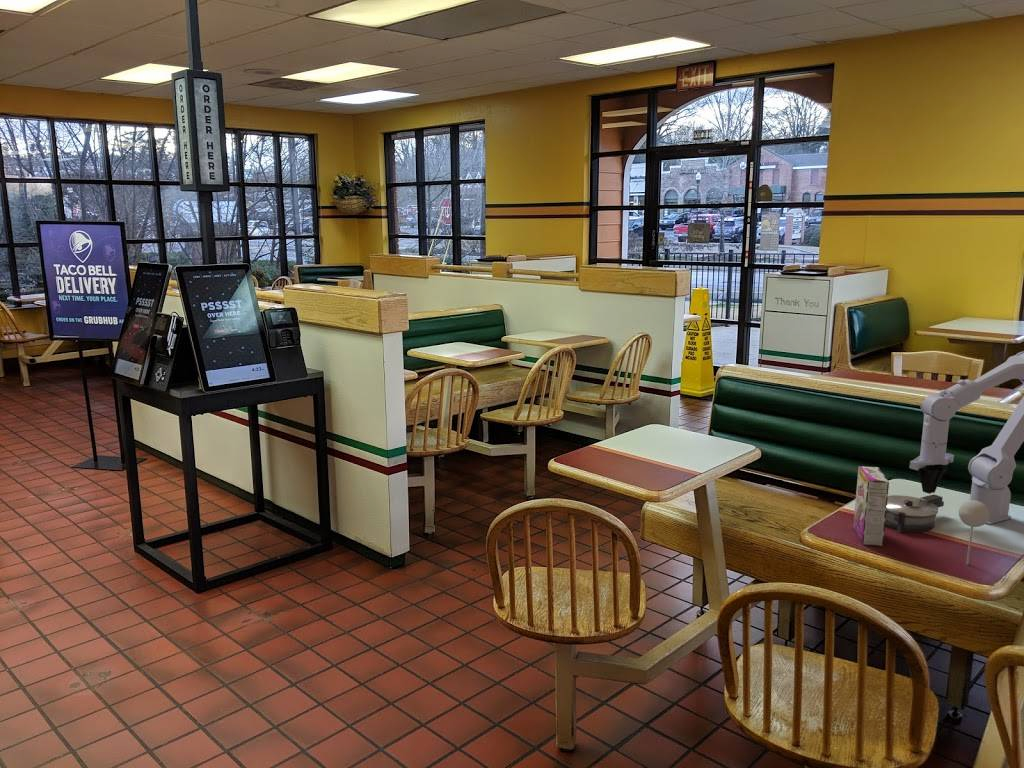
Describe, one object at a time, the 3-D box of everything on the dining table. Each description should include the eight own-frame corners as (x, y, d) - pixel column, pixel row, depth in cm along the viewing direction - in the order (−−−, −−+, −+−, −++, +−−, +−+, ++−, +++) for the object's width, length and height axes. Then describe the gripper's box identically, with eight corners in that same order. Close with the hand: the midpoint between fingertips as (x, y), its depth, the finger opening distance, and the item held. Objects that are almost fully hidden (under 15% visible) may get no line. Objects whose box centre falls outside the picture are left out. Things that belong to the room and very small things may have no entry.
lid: (914, 492, 215) (915, 486, 215) (962, 508, 204) (963, 502, 203) (867, 503, 207) (867, 497, 207) (914, 521, 195) (914, 514, 195)
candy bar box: (851, 527, 202) (857, 465, 198) (872, 529, 201) (879, 466, 197) (861, 545, 191) (867, 479, 187) (883, 547, 190) (890, 481, 186)
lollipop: (958, 556, 185) (966, 494, 182) (986, 564, 180) (995, 501, 177) (947, 563, 181) (955, 500, 178) (976, 572, 176) (984, 508, 173)
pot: (915, 506, 216) (917, 488, 215) (961, 522, 205) (963, 503, 204) (864, 518, 207) (866, 500, 206) (909, 536, 196) (911, 517, 195)
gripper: (929, 449, 197) (924, 501, 200) (967, 441, 204) (961, 492, 207) (904, 442, 204) (899, 492, 206) (941, 434, 210) (935, 484, 213)
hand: (928, 492), depth 207 cm, fingers closed
